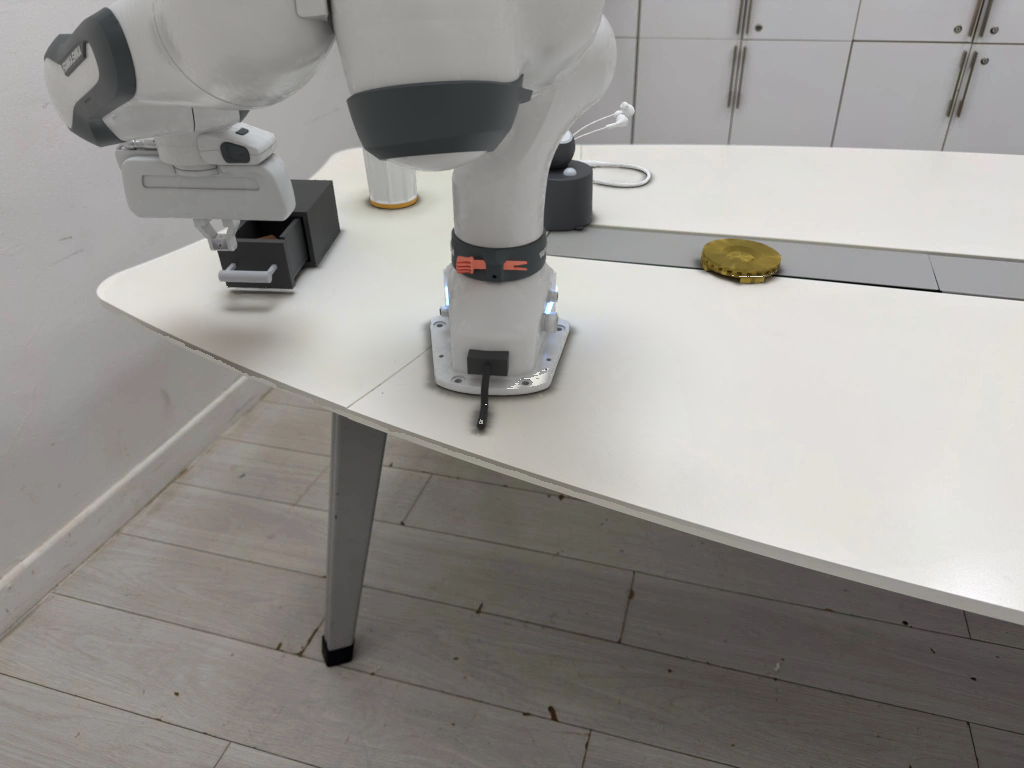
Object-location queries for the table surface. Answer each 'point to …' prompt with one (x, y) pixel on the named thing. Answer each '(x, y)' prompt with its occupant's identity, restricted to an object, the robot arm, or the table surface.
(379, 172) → the cup
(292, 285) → the drawer
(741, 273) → the compass
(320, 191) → the cabinet
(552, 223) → the light fixture
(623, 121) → the earphone
